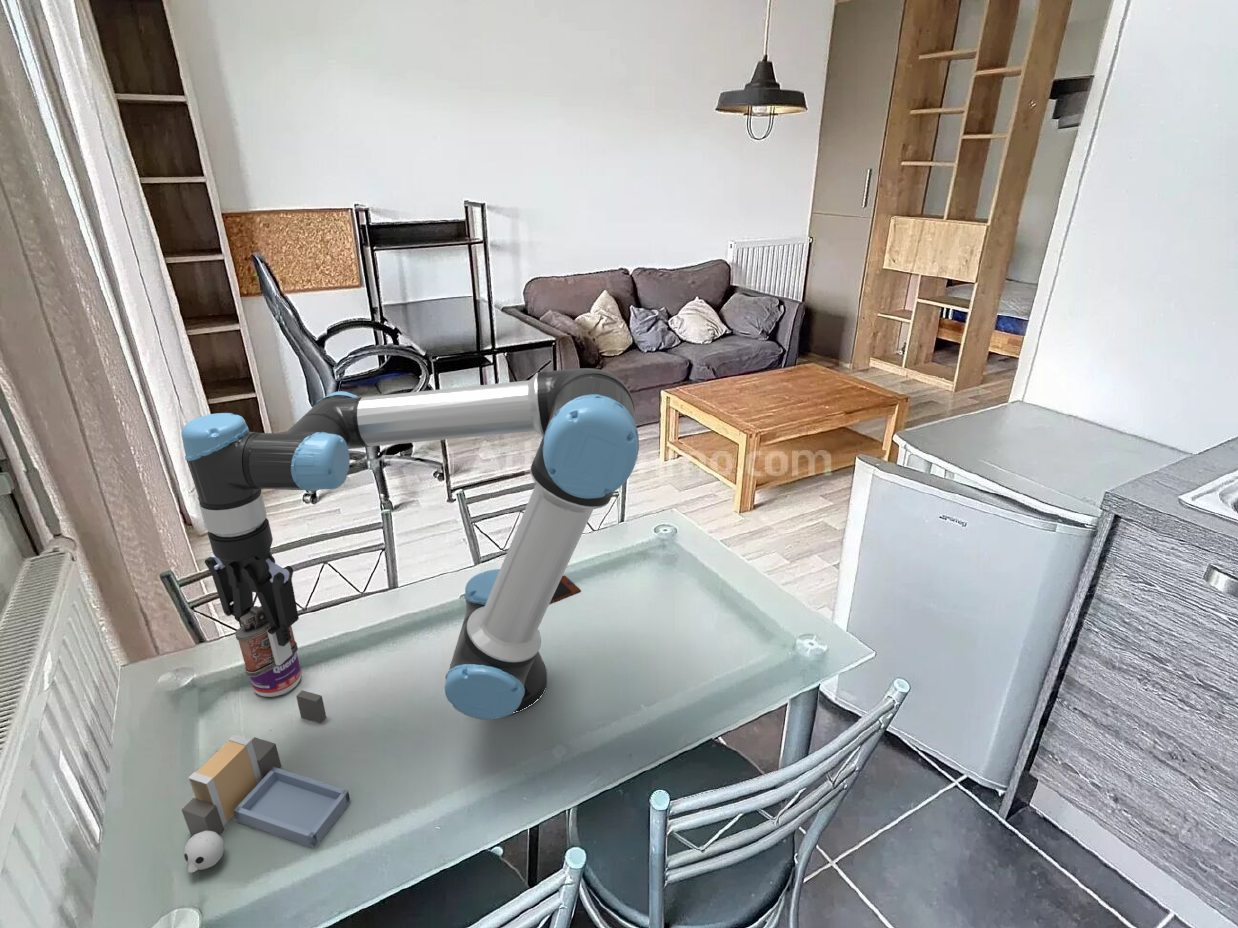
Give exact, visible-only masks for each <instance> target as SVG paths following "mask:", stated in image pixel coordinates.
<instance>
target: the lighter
mask: <svg viewBox="0 0 1238 928" xmlns="http://www.w3.org/2000/svg"><path fill="white" fill-rule="evenodd" d="M253 606H254V607H252V608H251V610H250V612H249V613H248V614H246V615H244V616H242V617H241V618H240V620H241V623H242V625H243V626H242V627H240V626H239V628H238V629H236V630H235V632H234V635H235V638H236V640H237V642H238V645H239V648H240V651H241V656H242V658H243V662H244V665H245V666H244V671H245V674H246V675H247V677H249V678H250V677H256V676H259V675H261V674H263V673H265V672H267V671H269V670H271V669H272V668H274V667H276V666H278V665H276V664H275V660H274V656H273V652H272V648H271V644H270V640H269V636H268V633H267V630H268V629H269V628H270V624H269V622H268V620H267V617H266V615H265V613H264V610H263V608H262V606H261V605H260V606H257V605H253ZM292 626H293V625H291V626H290V627H289V631H290V636H291V641H290V646H291V650H292V655H293V654H294V653H295V652H296V651H297V652H298V650H299V648H298V643H297V642H296V639H295V635H294V632H293V627H292ZM292 655H291V656H292Z"/></svg>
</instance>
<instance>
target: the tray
mask: <svg viewBox="0 0 1238 928" xmlns="http://www.w3.org/2000/svg"><path fill="white" fill-rule="evenodd" d="M350 796H351V795H350V794H349V790H348V789H345V788H341V787H338V786H335V785H331V784H328V783H326V782H322V781H320V780H316V779H314V778H310V777H307V776H303V775H300V774H297V773H295V772H291V771H288V770H284V769H282V768H280V769H279V768H276V767H273V768H272V770H271V771H270V772H269V773H268V774H267V775H266V776H265V777H264V778H263V779H262V780H261V781H260V782H259V784H258V785H257V786H256V787H255V788H254V789H253V790H252V791H251V792H250V793H249V794H248V795H247V796H246V798H245V799H244V800H243V801H242V802H241V803H240V804H239V805H238V806H237V807H236V808H235V809H234V817H235V819H236V822H237V823H240V824H243V825H245V826H248V827H251V828H254V829H257V830H260V831H263V832H266V833H269V834H271V835H273V836H278V837H279V838H283V839H286V840H288V841H291V842H294V843H296V844H299V845H303V846H306V847H308V848H311V849H314V848H315V847H316V846H317V847H318V845H319V844H320V843H321V841H322V840H323V839H324V838H325V836H326V834H328V833H329V831H330V830H331V828H332V827H333V826H334V825H335V823H336V822H337V821H338V819H339V818H340V817H341V815H342V814H343V813H342V812H344V811H345V810H346V809H347V807H348V806H349V805H350V803H351V797H350ZM348 804H349V805H348ZM345 808H346V809H345ZM335 821H336V822H335ZM332 825H333V826H332ZM323 837H324V838H323ZM319 842H320V843H319ZM318 843H319V844H318ZM317 847H316V848H317ZM316 848H315V849H316Z"/></svg>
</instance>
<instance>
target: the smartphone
mask: <svg viewBox="0 0 1238 928" xmlns="http://www.w3.org/2000/svg"><path fill="white" fill-rule="evenodd" d="M581 592H582V591H581V589H580V587H578V585H576V584H575V583H574V582H573V581H572V580H570V579H569V578H568V577H567V576H566V575H563V576H562V578H561V580H560V582H559V584H558V586H557V589H556V591H555V593H554V595H553V597H552V599H551V601H550V604H549V605H552V604H555V603H558V602H559V601H562V600H564V599H567V598H570V597H572V596H574V595H577V594H579V593H581Z"/></svg>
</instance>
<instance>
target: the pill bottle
mask: <svg viewBox="0 0 1238 928" xmlns="http://www.w3.org/2000/svg"><path fill="white" fill-rule="evenodd" d="M301 670H302V669H301V664H300V661H299V656H298V650H297V651H296V652H295V653H294V654H293V655H292V656H290V657H289V658H288V659H287V660H285V661H284V662H283V663H282V664H281V665H280V666H279V665H278V666H276V667H274V668H272V669H271V670H269V671H267V672H265V673H263V674H261V675H259V676H256V677H249V680H250V683H251V686H252V690H253V691H254V693H256V694H257V695H259V696H261V697H265V698H266V697H267V698H268V697H269V698H270V697H278V696H281V695H285V694H286V693H288V692H290V691H291V690H293V689H294V688H295V687H297V686H298V684H299V683H300V681H301V677H302V671H301Z"/></svg>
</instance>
